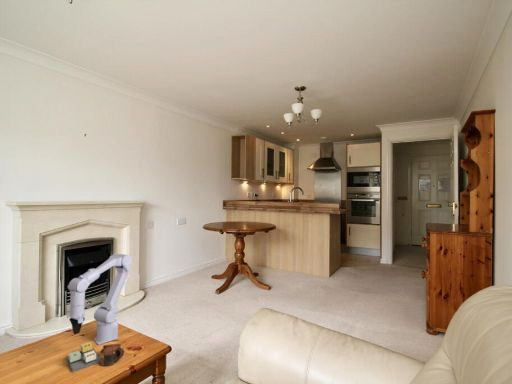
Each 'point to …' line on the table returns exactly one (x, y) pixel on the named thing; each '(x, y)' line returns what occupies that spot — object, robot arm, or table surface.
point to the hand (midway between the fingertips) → (76, 333)
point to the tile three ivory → (89, 356)
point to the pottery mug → (111, 354)
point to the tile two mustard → (86, 347)
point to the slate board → (83, 361)
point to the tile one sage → (74, 356)
